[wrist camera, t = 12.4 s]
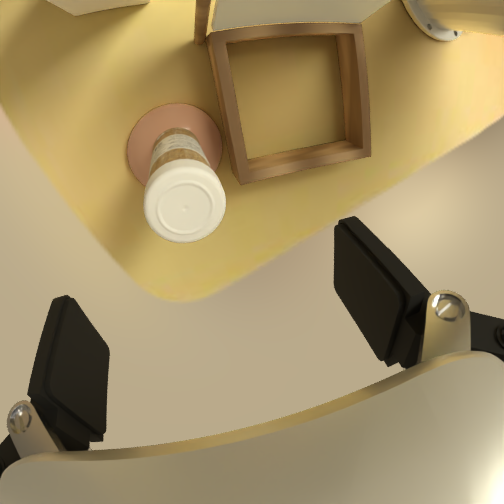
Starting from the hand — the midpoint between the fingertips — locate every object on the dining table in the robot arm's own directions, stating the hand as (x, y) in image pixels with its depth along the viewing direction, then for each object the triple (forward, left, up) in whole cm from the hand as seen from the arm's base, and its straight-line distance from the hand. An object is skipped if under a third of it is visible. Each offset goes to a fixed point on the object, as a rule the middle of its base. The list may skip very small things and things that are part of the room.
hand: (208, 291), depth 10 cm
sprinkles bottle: (0, 0, -21) cm, 21 cm away
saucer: (+1, 0, -21) cm, 21 cm away
